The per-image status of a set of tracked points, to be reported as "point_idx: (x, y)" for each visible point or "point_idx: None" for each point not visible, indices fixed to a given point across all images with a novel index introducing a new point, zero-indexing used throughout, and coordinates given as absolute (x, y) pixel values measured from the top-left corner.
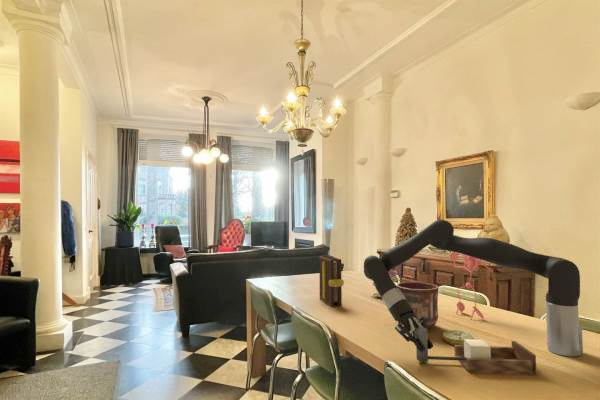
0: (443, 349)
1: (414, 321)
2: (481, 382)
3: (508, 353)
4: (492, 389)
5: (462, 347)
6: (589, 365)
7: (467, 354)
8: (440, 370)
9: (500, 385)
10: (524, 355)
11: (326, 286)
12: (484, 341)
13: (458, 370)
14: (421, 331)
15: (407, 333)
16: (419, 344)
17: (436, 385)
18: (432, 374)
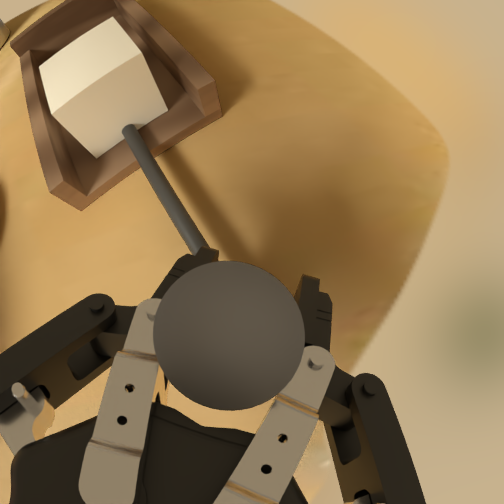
0: (33, 280)
1: (140, 474)
2: (280, 69)
3: (38, 66)
4: (308, 45)
5: (57, 157)
6: (42, 5)
7: (119, 118)
8: (281, 211)
9: (260, 35)
10: (84, 7)
11: None
12: (57, 52)
13: (225, 149)
14: (300, 313)
15: (398, 426)
16: (322, 317)
17: (427, 185)
18: (351, 227)
